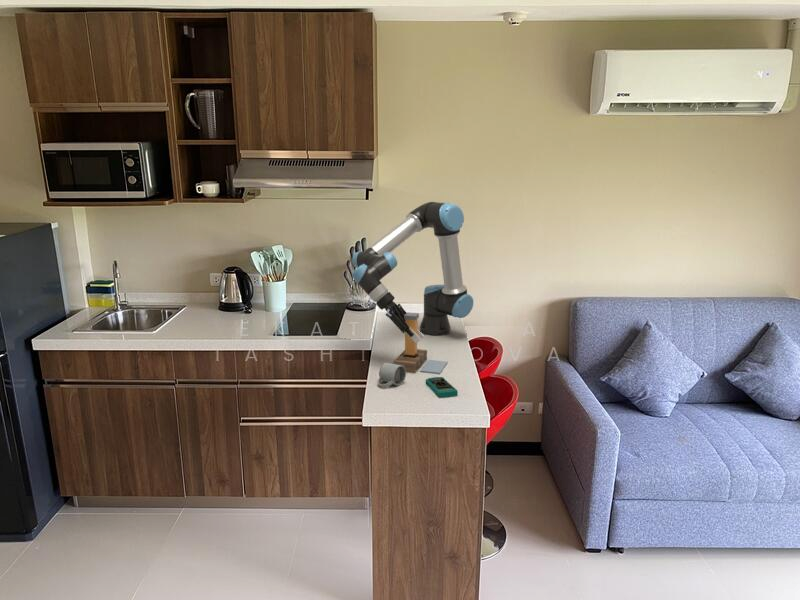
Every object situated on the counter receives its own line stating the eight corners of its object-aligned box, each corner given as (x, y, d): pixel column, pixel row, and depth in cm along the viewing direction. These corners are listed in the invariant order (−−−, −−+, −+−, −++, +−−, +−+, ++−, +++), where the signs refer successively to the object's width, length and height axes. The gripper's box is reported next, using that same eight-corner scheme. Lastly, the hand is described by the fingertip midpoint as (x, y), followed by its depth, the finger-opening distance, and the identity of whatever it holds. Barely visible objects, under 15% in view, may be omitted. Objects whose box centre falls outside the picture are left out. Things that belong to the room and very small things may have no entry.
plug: (407, 350, 250) (407, 312, 246) (418, 352, 248) (418, 313, 245) (403, 354, 245) (404, 315, 242) (414, 355, 244) (415, 316, 240)
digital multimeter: (442, 382, 230) (442, 375, 229) (458, 397, 216) (458, 389, 216) (424, 384, 228) (424, 377, 227) (439, 399, 214) (439, 391, 213)
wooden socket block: (406, 356, 258) (406, 347, 257) (426, 359, 255) (427, 350, 254) (393, 370, 241) (393, 361, 240) (415, 373, 238) (415, 363, 237)
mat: (429, 360, 253) (429, 359, 253) (447, 363, 250) (447, 361, 250) (420, 371, 240) (420, 370, 240) (439, 374, 238) (439, 372, 237)
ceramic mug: (389, 377, 233) (389, 358, 231) (406, 382, 229) (406, 363, 227) (372, 386, 225) (371, 366, 223) (389, 391, 220) (389, 371, 218)
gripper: (382, 298, 255) (419, 339, 254) (368, 307, 239) (407, 351, 238) (394, 287, 252) (431, 328, 251) (381, 295, 236) (421, 340, 235)
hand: (420, 339), depth 244 cm, fingers closed on plug, 4 cm apart
